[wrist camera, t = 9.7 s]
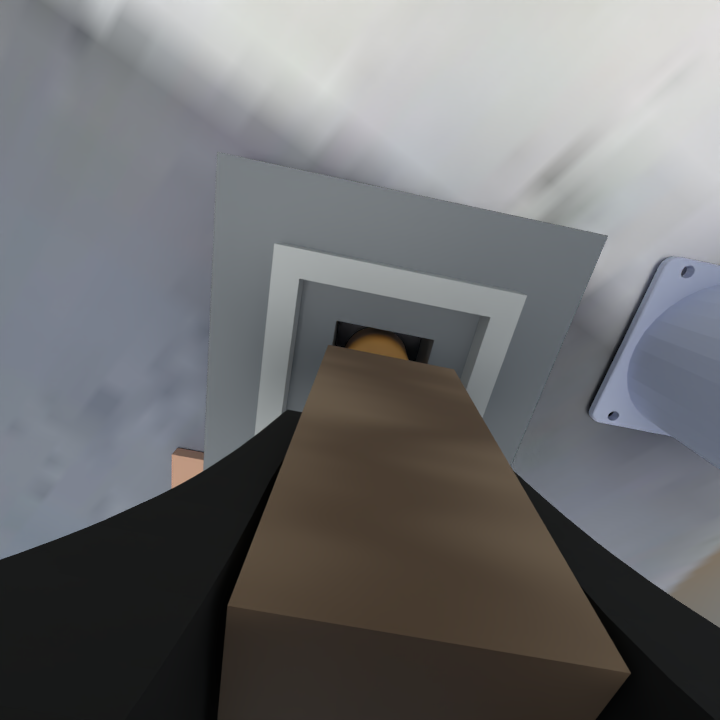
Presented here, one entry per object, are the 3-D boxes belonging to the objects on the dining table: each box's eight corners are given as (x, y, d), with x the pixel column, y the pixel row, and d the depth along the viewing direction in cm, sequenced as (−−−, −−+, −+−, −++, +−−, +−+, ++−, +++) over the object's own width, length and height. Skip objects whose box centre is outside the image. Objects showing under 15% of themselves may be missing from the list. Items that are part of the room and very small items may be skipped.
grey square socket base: (570, 234, 15) (627, 236, 12) (470, 493, 20) (490, 546, 16) (242, 164, 14) (203, 145, 11) (223, 448, 19) (192, 493, 16)
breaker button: (413, 333, 16) (420, 351, 14) (398, 391, 17) (402, 416, 15) (349, 321, 16) (346, 336, 14) (338, 379, 17) (333, 403, 15)
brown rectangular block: (453, 369, 11) (630, 672, 3) (421, 472, 12) (497, 847, 5) (328, 344, 11) (227, 605, 3) (309, 451, 12) (209, 805, 5)
